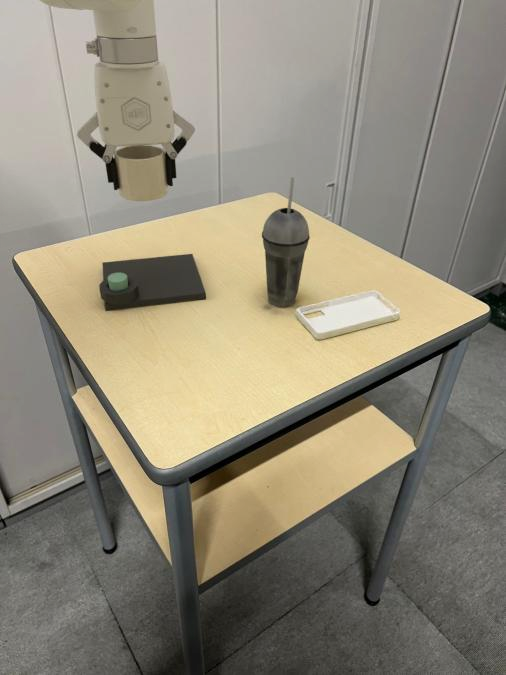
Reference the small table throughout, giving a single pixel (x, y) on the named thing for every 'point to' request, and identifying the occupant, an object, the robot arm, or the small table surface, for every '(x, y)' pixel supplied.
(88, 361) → the small table surface
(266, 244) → the beverage cup
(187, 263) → the scale
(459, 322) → the small table surface
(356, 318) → the phone case
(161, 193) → the beige cup
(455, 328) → the small table surface
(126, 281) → the button
